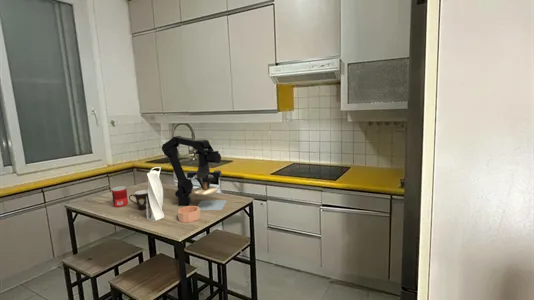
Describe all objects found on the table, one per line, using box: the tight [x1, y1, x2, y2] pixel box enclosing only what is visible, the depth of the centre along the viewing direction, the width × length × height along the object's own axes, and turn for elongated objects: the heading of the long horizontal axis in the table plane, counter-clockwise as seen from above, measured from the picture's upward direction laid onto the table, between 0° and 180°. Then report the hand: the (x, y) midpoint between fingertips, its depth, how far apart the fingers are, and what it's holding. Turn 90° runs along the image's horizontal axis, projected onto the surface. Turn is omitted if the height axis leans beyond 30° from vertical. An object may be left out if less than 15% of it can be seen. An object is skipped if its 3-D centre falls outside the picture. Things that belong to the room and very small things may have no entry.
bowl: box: [177, 205, 201, 224], centre depth 156 cm, size 11×11×5 cm
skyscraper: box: [145, 166, 165, 223], centre depth 156 cm, size 8×8×28 cm
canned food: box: [111, 185, 129, 208], centre depth 179 cm, size 8×8×11 cm
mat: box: [197, 199, 228, 211], centre depth 174 cm, size 16×16×1 cm
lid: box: [193, 181, 218, 196], centre depth 168 cm, size 13×13×5 cm
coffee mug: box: [128, 189, 151, 211], centre depth 173 cm, size 12×9×10 cm
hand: (205, 188), depth 168 cm, fingers closed on lid, 3 cm apart
